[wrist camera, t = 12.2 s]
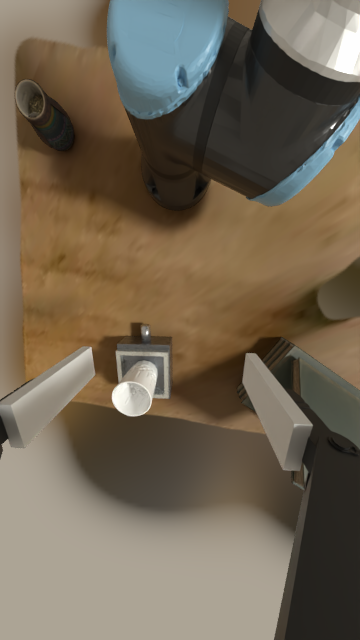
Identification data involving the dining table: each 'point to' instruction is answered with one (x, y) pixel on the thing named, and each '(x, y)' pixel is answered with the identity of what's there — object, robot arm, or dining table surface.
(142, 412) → the white cup
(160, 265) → the dining table surface
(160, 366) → the grey open box
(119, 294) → the dining table surface
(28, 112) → the mate gourd
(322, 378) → the book stack
